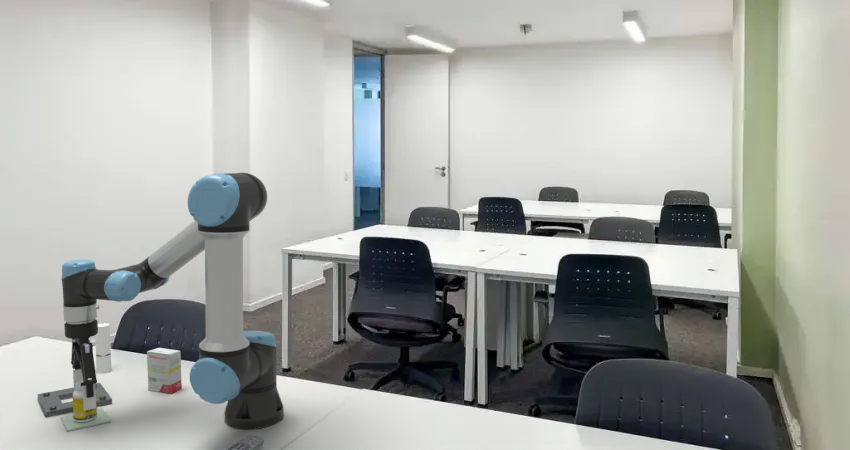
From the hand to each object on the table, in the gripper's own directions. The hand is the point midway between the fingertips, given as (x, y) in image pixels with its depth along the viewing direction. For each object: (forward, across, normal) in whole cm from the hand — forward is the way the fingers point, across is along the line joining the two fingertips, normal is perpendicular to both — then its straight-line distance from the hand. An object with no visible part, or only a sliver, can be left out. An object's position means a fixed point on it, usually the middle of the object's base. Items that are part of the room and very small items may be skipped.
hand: (84, 400), depth 166 cm
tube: (+5, +39, -12) cm, 41 cm away
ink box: (+6, +11, -23) cm, 26 cm away
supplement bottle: (+5, 0, 0) cm, 5 cm away
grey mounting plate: (+5, +16, 0) cm, 17 cm away
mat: (+5, 0, 0) cm, 5 cm away
